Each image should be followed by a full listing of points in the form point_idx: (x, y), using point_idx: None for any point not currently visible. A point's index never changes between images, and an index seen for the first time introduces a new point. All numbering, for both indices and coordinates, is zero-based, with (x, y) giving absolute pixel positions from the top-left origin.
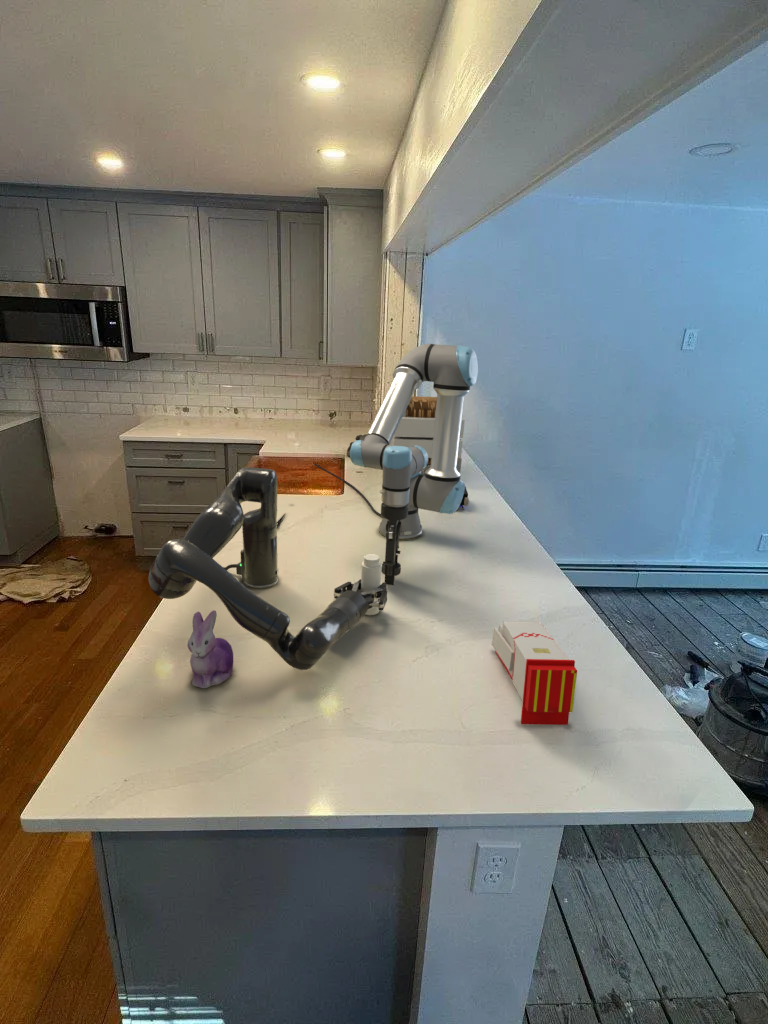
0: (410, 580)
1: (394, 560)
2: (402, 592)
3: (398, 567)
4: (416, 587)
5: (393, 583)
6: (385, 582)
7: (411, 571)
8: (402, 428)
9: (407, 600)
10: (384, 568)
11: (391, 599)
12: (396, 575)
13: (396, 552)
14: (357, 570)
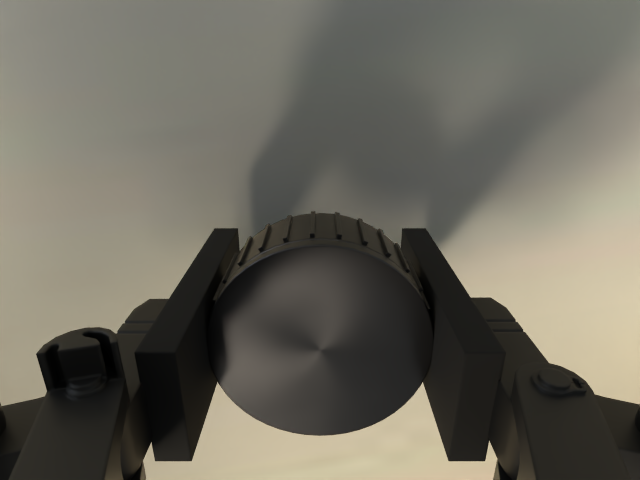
0: (207, 90)
1: (596, 420)
2: (452, 138)
3: (372, 267)
4: (336, 15)
5: (429, 238)
6: None
7: (16, 99)
8: None
9: (595, 78)
10: (402, 397)
11: (576, 210)
12: (392, 244)
13: (125, 397)
14: (175, 467)
